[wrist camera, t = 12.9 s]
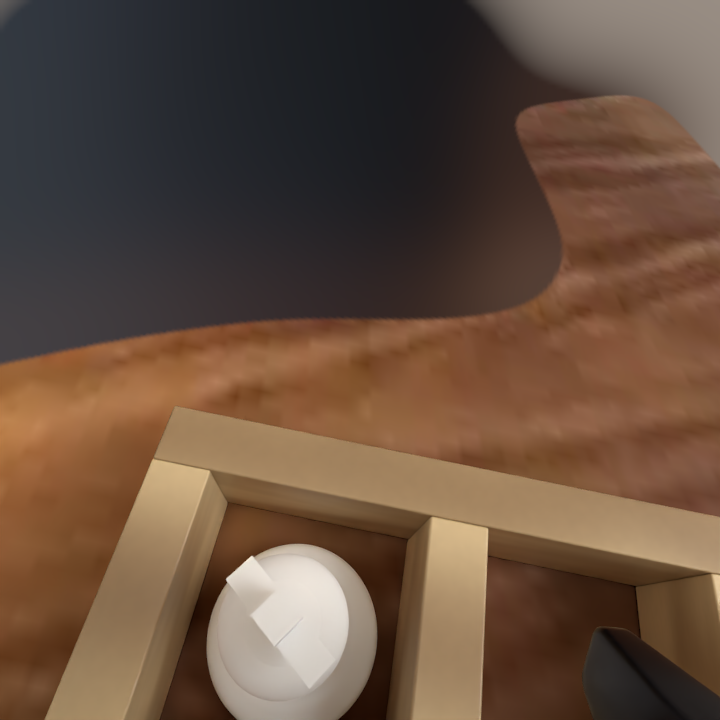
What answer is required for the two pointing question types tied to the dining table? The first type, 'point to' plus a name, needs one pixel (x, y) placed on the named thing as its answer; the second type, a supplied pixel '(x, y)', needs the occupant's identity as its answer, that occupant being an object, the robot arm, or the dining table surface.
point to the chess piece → (292, 636)
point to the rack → (421, 570)
